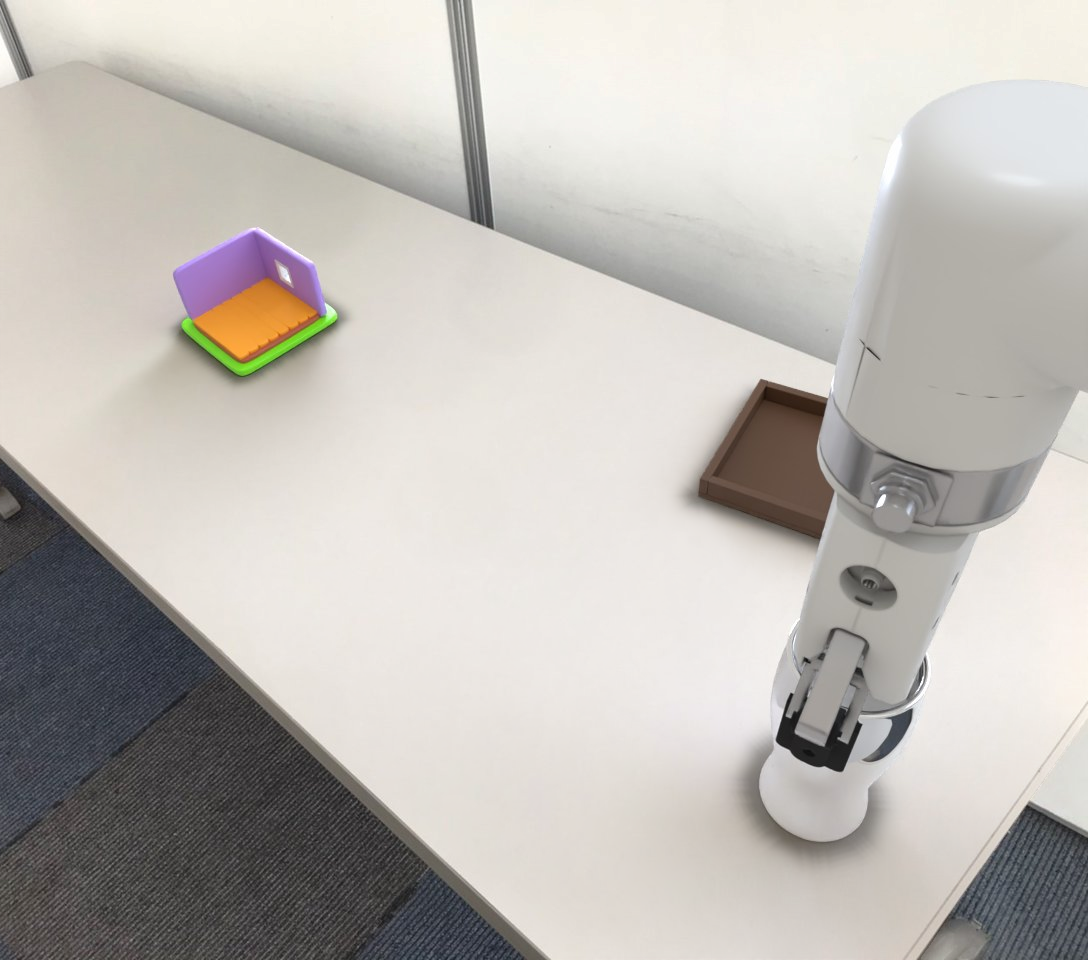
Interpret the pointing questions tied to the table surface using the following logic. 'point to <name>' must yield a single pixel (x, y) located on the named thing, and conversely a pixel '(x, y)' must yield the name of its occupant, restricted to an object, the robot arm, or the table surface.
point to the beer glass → (818, 792)
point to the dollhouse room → (251, 300)
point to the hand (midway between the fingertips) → (843, 675)
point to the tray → (773, 460)
